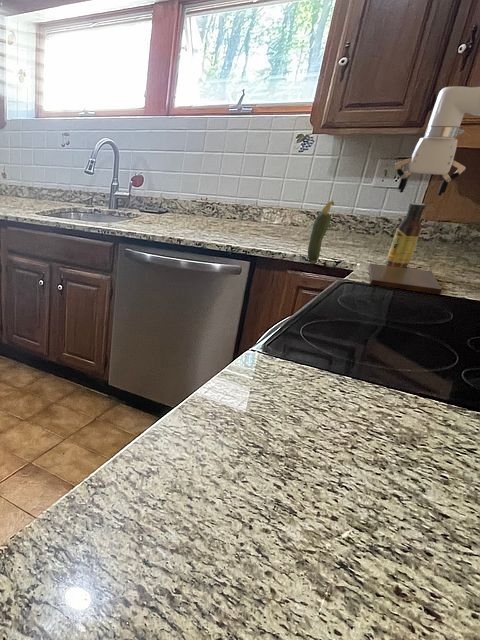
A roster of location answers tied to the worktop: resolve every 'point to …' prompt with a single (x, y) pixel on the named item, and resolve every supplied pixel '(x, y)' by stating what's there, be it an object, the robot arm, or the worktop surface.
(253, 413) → the worktop surface
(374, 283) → the board
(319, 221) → the vegetable
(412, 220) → the sauce bottle
